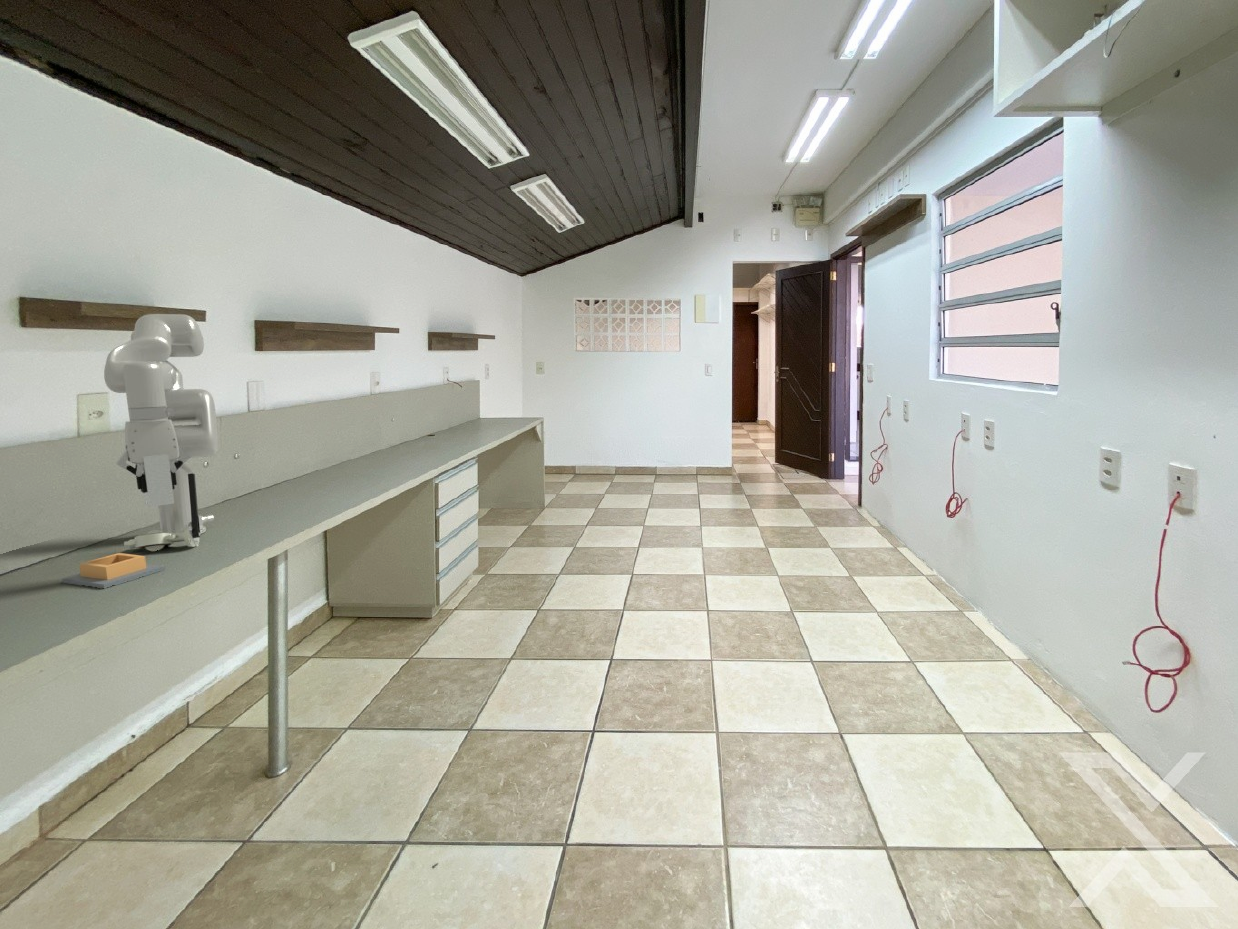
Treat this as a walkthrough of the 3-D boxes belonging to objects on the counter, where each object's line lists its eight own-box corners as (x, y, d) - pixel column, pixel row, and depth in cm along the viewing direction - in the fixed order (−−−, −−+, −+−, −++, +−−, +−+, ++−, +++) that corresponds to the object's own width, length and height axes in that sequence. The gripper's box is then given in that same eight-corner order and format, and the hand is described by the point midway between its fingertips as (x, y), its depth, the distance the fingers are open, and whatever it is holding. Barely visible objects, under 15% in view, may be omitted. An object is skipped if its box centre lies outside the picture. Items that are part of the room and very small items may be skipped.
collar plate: (124, 564, 169) (122, 549, 168) (164, 570, 164) (162, 554, 164) (62, 582, 156) (59, 565, 155) (104, 588, 151) (101, 571, 151)
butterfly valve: (120, 555, 176) (193, 545, 179) (115, 480, 178) (187, 470, 182) (138, 556, 184) (207, 546, 187) (132, 484, 187) (201, 475, 190)
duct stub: (169, 500, 167) (163, 451, 165) (174, 503, 164) (168, 453, 162) (145, 503, 164) (138, 453, 162) (149, 506, 160) (143, 455, 158)
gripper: (186, 411, 169) (194, 483, 172) (101, 416, 157) (111, 493, 160) (193, 413, 164) (202, 487, 167) (106, 418, 152) (117, 498, 155)
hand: (157, 489), depth 163 cm, fingers closed on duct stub, 5 cm apart
